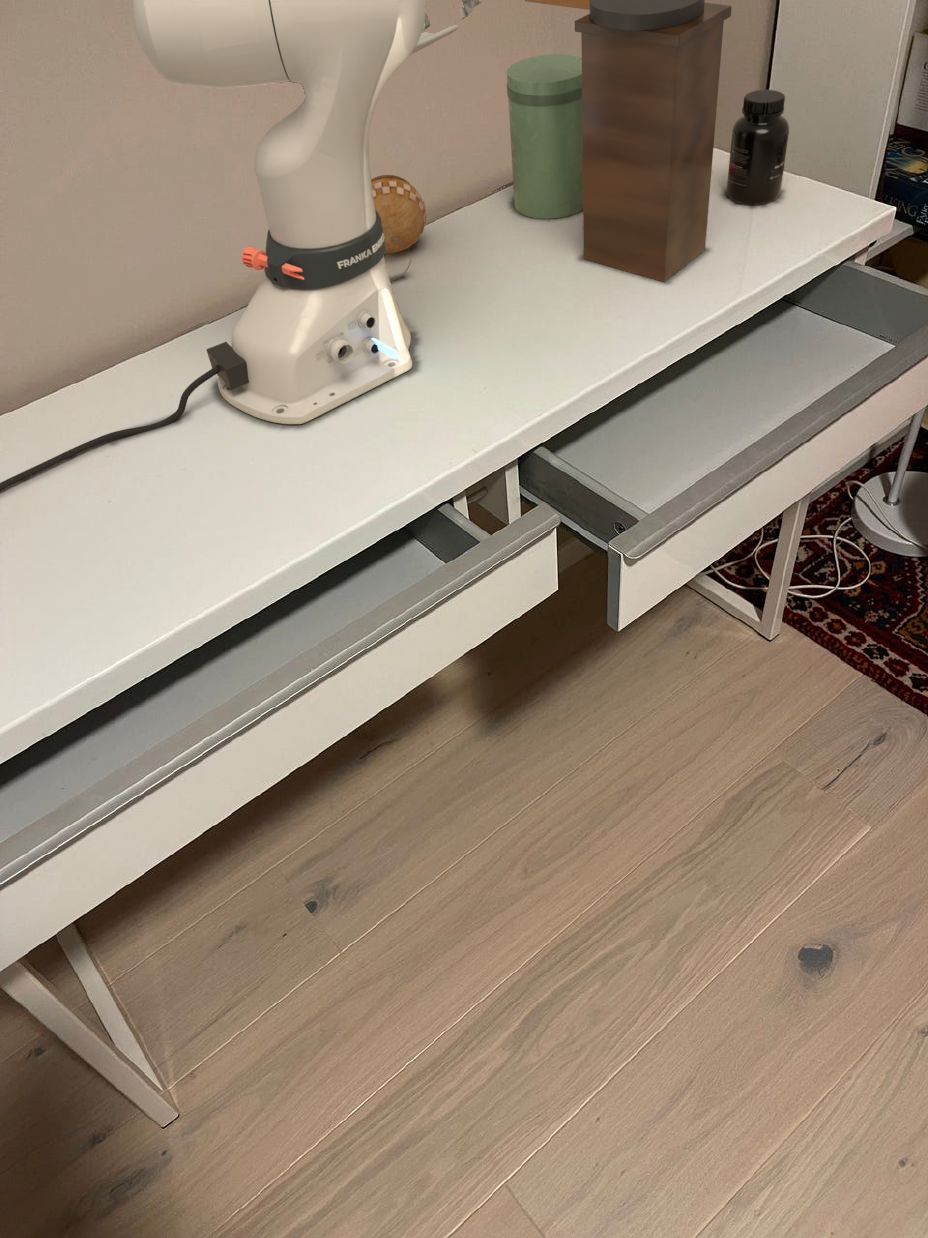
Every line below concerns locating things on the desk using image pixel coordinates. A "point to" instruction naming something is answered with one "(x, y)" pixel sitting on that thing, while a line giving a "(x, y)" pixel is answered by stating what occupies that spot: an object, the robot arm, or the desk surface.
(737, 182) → the supplement bottle
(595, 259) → the stand
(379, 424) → the desk surface
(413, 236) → the toy
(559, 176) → the tin
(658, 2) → the lid
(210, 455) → the desk surface
